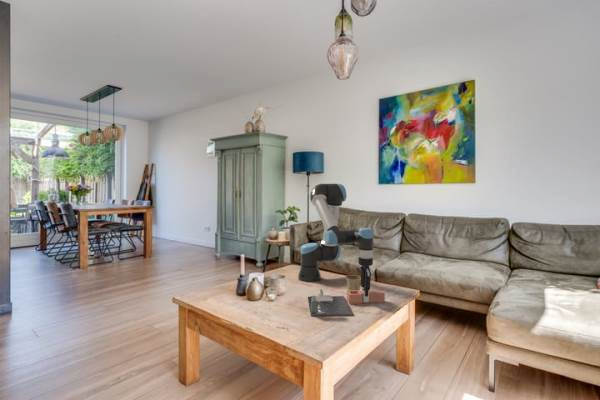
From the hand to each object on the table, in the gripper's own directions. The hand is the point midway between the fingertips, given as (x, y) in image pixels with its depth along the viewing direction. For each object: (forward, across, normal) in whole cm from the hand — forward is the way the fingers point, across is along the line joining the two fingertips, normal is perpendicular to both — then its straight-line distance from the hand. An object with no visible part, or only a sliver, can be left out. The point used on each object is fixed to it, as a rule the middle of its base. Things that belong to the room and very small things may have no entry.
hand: (365, 300), depth 166 cm
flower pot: (+1, -16, -3) cm, 16 cm away
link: (0, 0, 0) cm, 1 cm away
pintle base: (0, +6, -20) cm, 21 cm away
